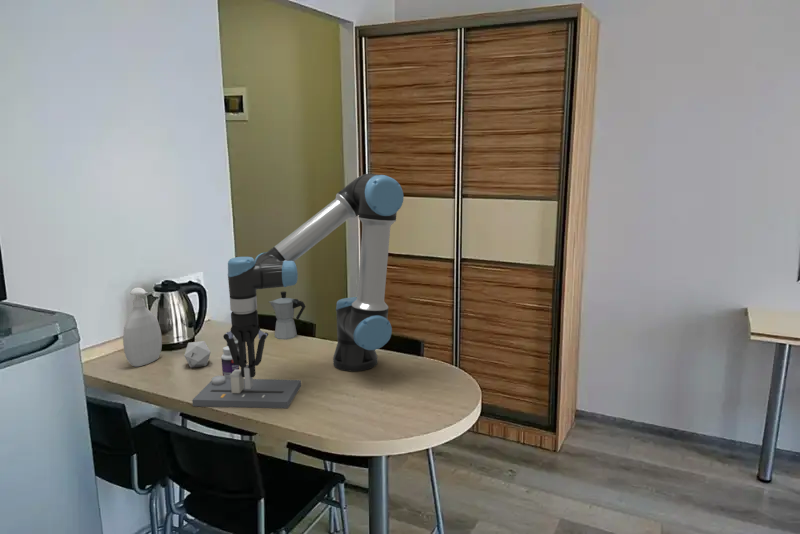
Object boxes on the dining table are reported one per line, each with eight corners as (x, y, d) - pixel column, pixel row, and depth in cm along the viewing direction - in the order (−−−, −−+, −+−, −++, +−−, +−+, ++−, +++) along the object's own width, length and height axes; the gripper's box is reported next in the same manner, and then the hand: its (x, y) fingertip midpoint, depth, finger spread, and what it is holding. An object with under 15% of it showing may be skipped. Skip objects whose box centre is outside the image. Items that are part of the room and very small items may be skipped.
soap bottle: (136, 372, 199) (127, 294, 193) (120, 368, 203) (111, 291, 197) (171, 358, 211) (164, 284, 206) (156, 354, 215) (148, 282, 210)
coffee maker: (266, 339, 231) (263, 294, 227) (274, 332, 239) (272, 288, 236) (303, 340, 228) (300, 295, 225) (310, 333, 237) (308, 289, 233)
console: (301, 386, 186) (300, 375, 185) (287, 408, 170) (286, 396, 169) (214, 384, 188) (213, 373, 187) (192, 406, 172) (191, 394, 172)
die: (179, 367, 205) (177, 350, 197) (194, 347, 211) (192, 331, 204) (202, 376, 204) (200, 360, 197) (215, 357, 210) (215, 340, 203)
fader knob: (244, 387, 179) (243, 369, 178) (240, 393, 175) (238, 374, 174) (236, 387, 179) (235, 369, 178) (231, 393, 175) (230, 374, 174)
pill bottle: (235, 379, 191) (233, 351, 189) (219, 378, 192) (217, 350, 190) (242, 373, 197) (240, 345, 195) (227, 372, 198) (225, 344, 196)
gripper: (269, 307, 175) (274, 382, 180) (226, 306, 176) (232, 381, 181) (262, 314, 168) (267, 392, 172) (217, 313, 169) (223, 391, 173)
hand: (249, 386), depth 177 cm, fingers closed
